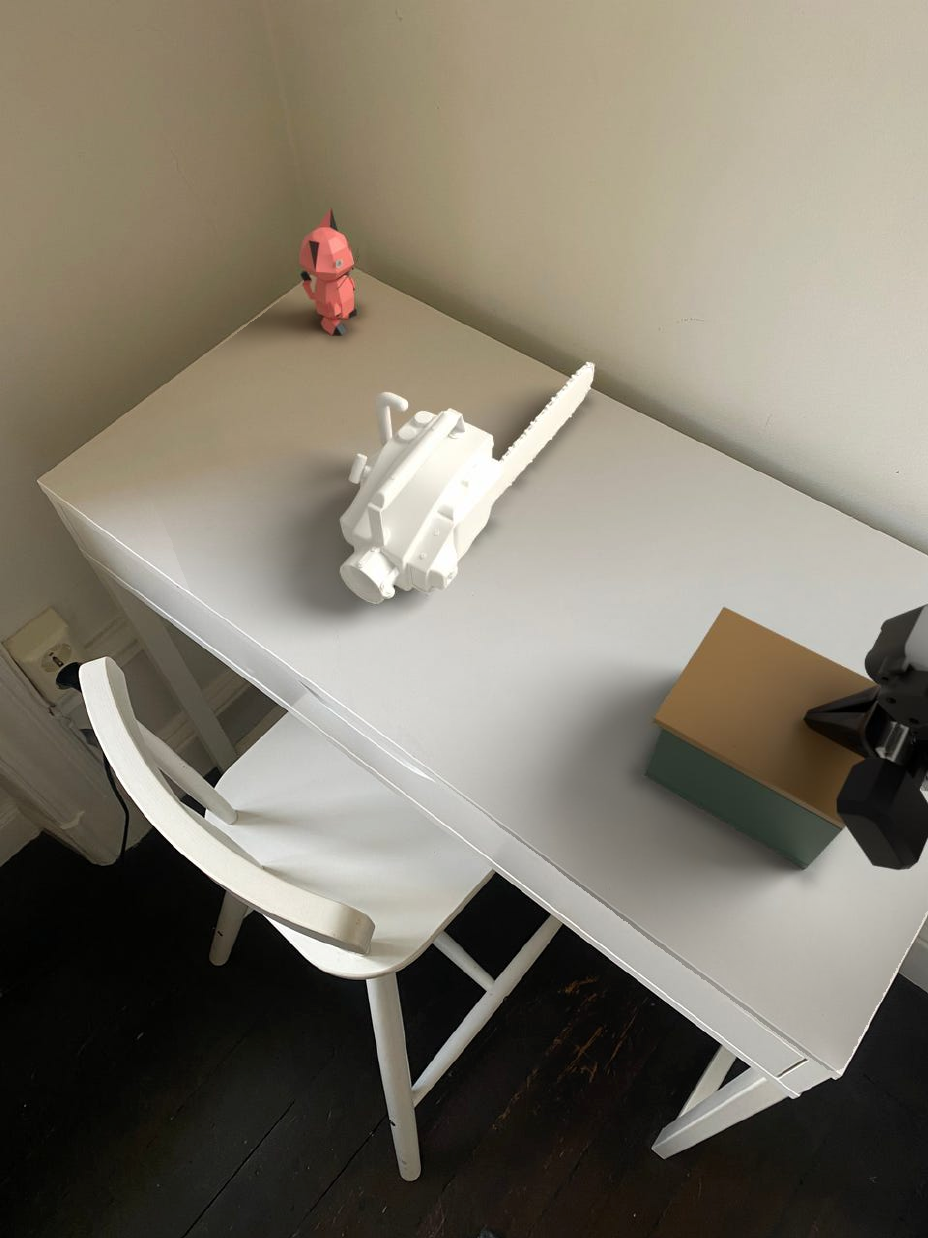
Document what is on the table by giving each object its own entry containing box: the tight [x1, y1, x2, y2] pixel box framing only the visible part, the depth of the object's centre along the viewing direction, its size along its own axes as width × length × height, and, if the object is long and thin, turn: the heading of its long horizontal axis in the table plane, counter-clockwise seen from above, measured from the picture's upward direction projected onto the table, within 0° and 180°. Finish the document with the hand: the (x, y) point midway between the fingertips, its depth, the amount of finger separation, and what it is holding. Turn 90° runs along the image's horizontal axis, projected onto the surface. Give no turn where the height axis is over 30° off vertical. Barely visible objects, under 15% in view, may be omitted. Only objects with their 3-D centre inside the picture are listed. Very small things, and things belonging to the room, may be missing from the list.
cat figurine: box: [298, 207, 360, 336], centre depth 99 cm, size 7×7×12 cm
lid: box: [651, 606, 877, 830], centre depth 66 cm, size 14×12×1 cm
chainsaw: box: [339, 361, 596, 605], centre depth 85 cm, size 15×35×12 cm, turn 146°
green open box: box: [644, 728, 844, 870], centre depth 70 cm, size 14×12×8 cm
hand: (807, 719), depth 65 cm, fingers closed, pressing on lid
